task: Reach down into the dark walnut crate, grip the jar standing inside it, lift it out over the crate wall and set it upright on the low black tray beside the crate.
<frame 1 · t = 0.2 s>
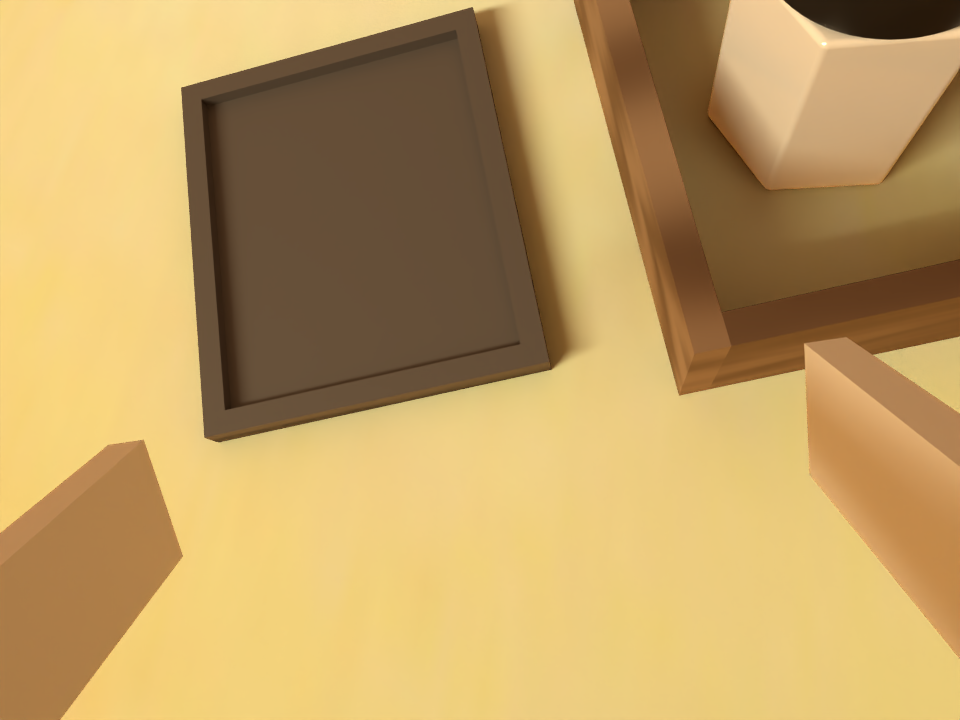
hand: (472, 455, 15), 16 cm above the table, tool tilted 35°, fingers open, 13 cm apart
tray: (354, 222, 35), on the table
crate: (813, 108, 33), on the table
jar: (812, 111, 33), resting in crate
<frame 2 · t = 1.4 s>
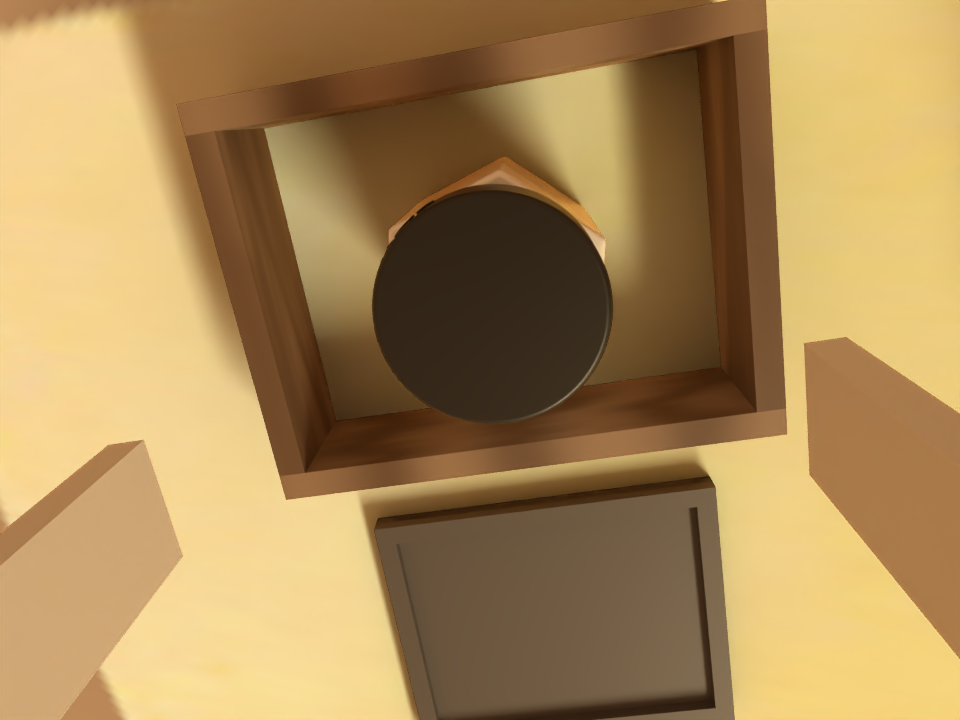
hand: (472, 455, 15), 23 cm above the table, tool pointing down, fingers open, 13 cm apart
tray: (559, 614, 43), on the table
crate: (500, 251, 36), on the table
jar: (500, 251, 36), resting in crate
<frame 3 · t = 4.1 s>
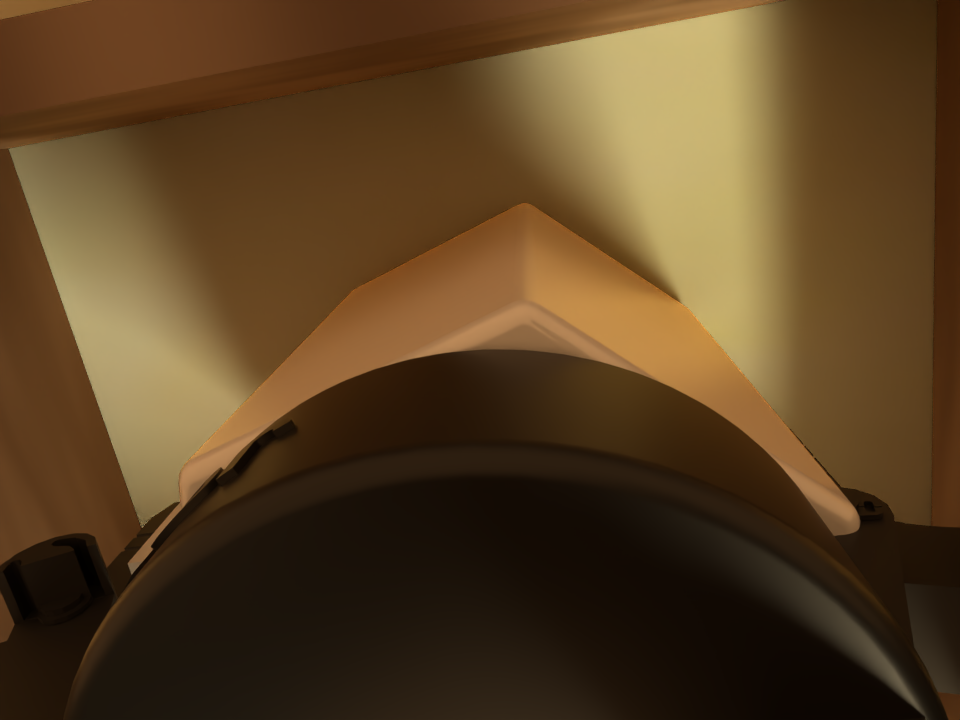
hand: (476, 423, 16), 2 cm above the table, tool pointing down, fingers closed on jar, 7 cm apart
crate: (499, 394, 18), on the table
jar: (513, 387, 18), resting in crate, touching gripper
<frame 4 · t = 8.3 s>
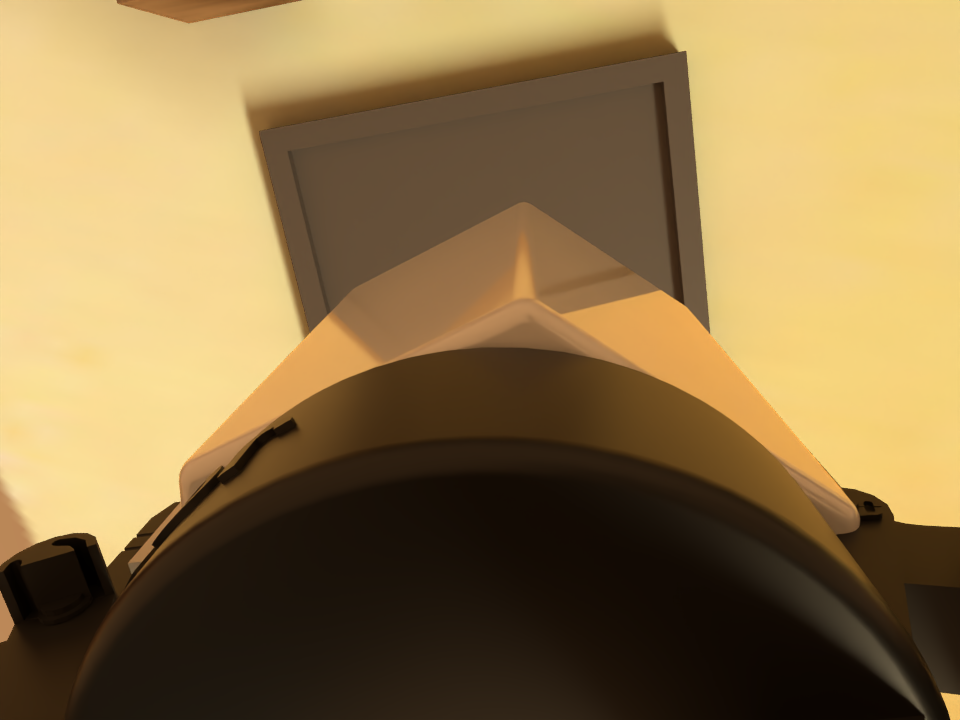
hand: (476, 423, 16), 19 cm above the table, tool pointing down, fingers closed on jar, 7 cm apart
tray: (497, 263, 34), on the table
jar: (512, 386, 18), point 17 cm above the table, touching gripper
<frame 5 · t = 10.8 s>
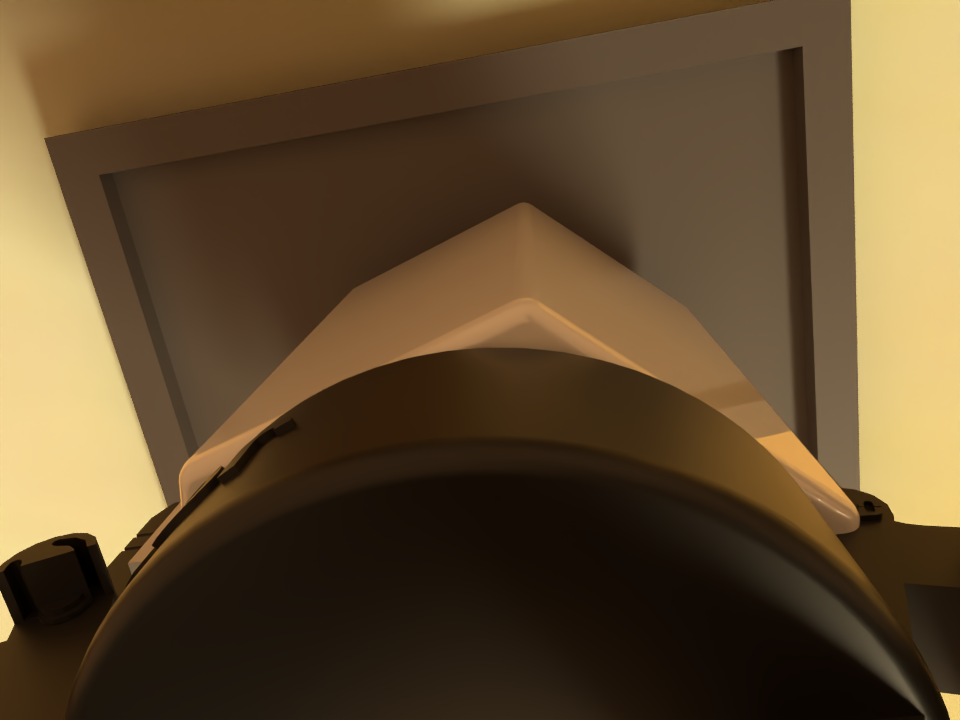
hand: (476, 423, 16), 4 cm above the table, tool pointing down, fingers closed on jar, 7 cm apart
tray: (485, 368, 20), on the table
jar: (512, 386, 18), point 2 cm above the table, touching gripper
when the fingers open (2 cm above the table, at t = 12.3 s): jar stays where it is, resting on tray.
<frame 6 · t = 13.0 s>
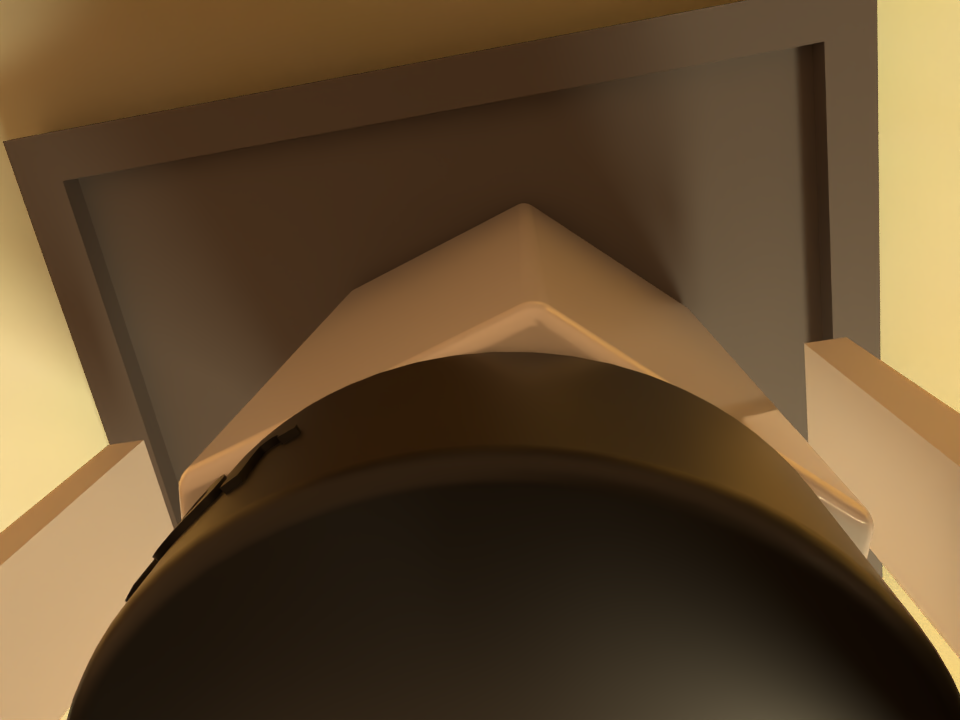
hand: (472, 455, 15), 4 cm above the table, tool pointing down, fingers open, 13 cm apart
tray: (480, 387, 18), on the table
jar: (512, 389, 18), resting on tray
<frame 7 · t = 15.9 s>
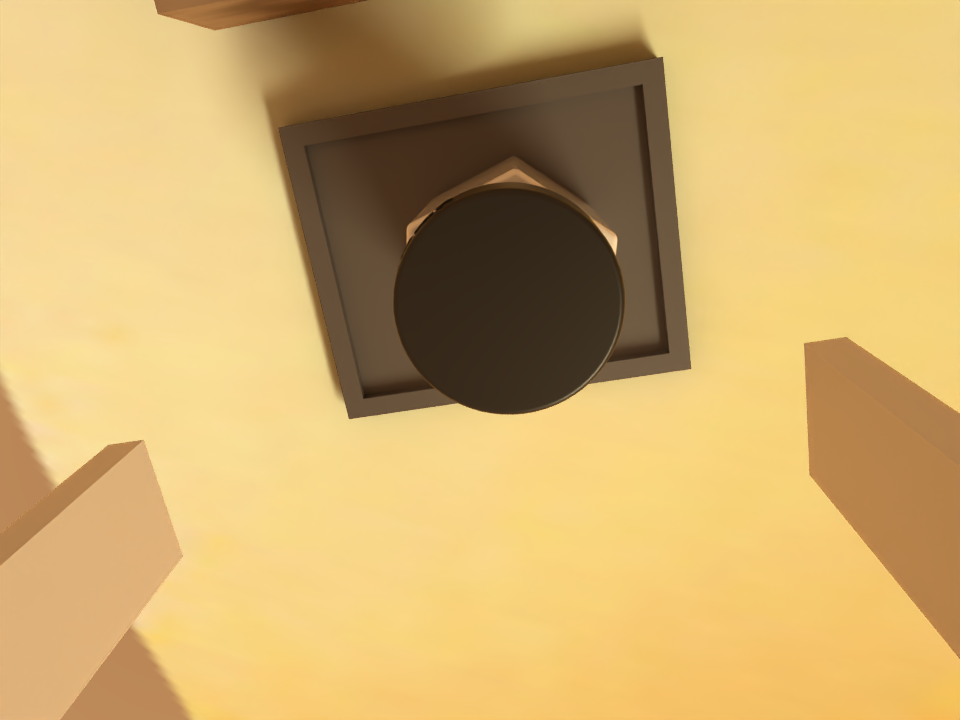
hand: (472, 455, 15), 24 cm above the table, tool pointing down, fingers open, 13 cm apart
tray: (493, 248, 38), on the table
jar: (509, 248, 37), resting on tray
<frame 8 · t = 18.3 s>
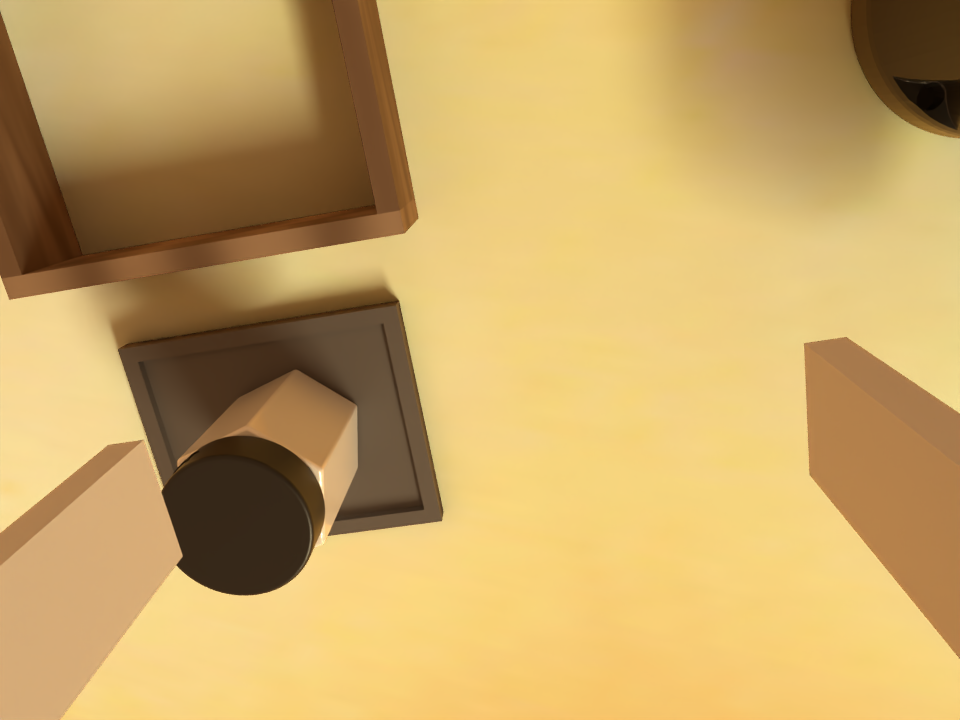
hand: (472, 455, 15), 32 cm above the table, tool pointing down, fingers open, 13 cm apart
tray: (289, 430, 50), on the table
crate: (200, 100, 43), on the table
jar: (299, 431, 49), resting on tray
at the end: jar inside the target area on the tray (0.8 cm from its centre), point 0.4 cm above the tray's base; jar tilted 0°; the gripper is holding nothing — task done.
